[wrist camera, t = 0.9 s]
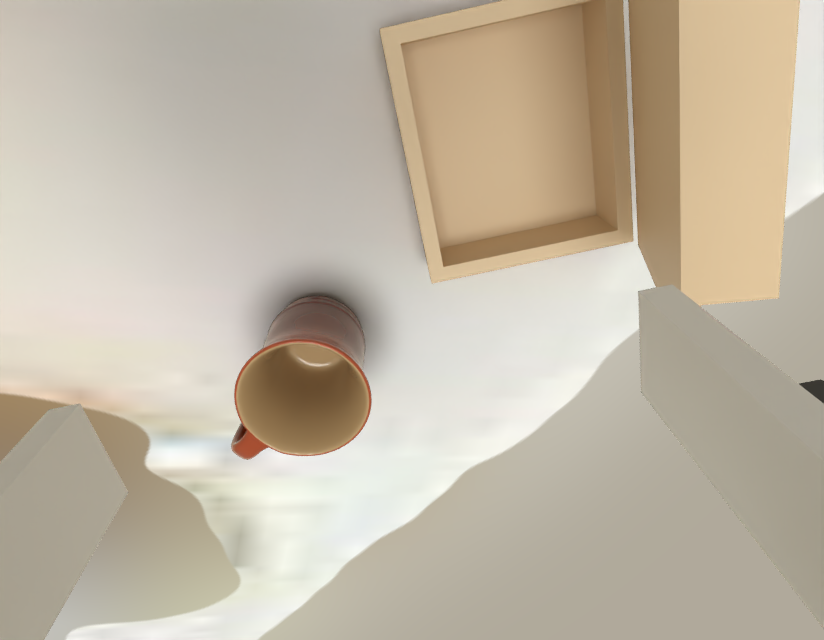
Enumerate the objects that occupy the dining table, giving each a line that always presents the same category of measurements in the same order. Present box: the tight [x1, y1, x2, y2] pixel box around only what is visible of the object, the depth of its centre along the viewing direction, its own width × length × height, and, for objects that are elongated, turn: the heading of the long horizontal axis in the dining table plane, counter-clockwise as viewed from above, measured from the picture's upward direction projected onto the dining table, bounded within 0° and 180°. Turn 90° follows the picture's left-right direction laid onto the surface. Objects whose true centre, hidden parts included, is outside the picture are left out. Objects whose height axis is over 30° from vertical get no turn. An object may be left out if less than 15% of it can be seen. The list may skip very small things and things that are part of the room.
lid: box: [628, 0, 800, 307], centre depth 28 cm, size 16×14×4 cm
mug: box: [231, 296, 371, 460], centre depth 42 cm, size 12×9×10 cm
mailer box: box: [380, 0, 633, 283], centre depth 38 cm, size 16×14×5 cm
